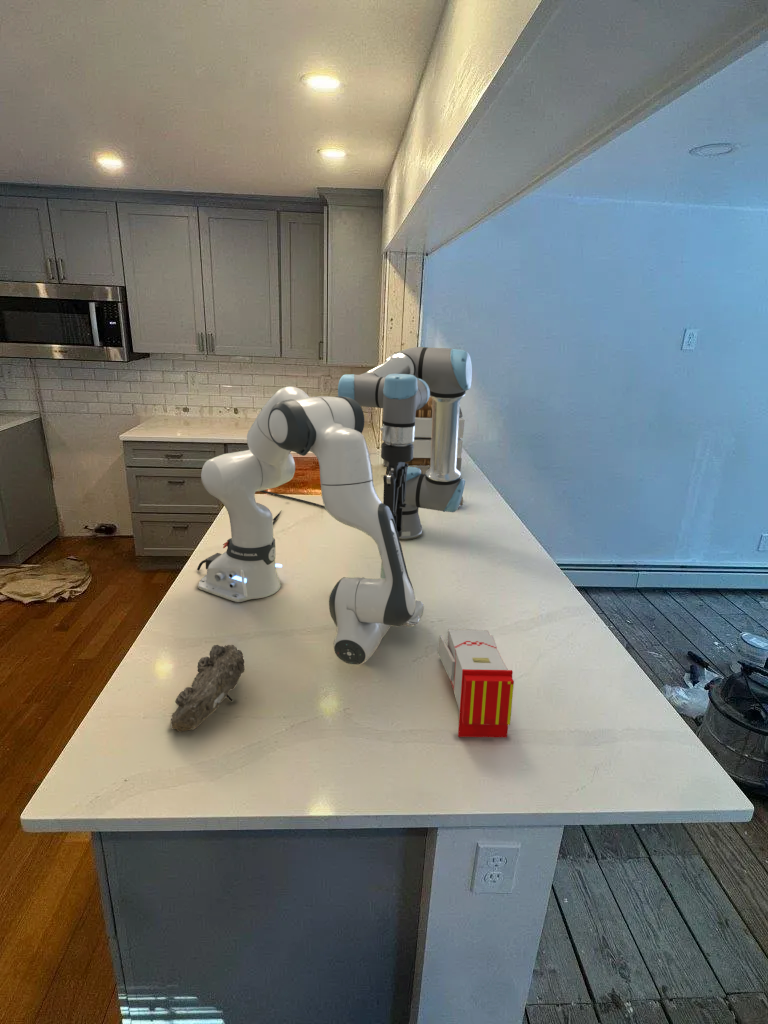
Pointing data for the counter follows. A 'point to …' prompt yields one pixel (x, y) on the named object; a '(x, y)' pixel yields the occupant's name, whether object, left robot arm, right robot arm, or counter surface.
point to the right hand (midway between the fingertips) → (392, 535)
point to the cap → (399, 531)
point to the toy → (478, 682)
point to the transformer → (429, 438)
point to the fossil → (208, 687)
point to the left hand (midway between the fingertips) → (390, 591)
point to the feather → (275, 518)
